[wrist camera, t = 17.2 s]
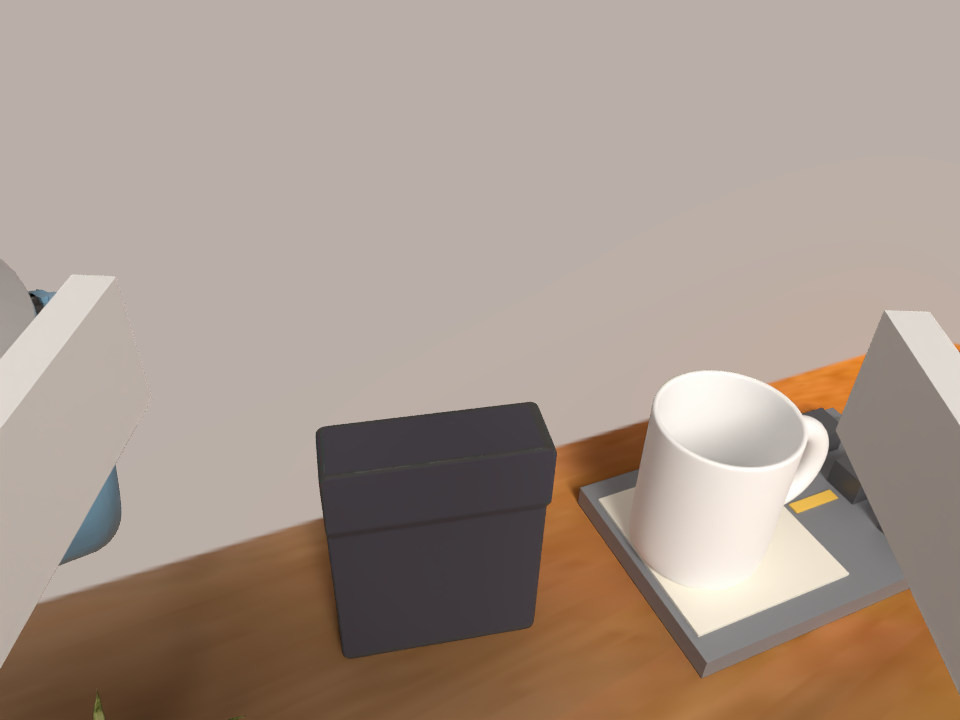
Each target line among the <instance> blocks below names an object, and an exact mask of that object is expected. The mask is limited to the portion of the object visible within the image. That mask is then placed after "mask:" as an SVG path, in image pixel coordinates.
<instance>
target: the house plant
mask: <svg viewBox="0 0 960 720" xmlns="http://www.w3.org/2000/svg"><path fill="white" fill-rule="evenodd" d="M96 691H97V689H96ZM242 717H244V716H241V717H235V718H232V719H229V720H238V719H239V718H242ZM93 720H105V717H104V714H103V710H102V706H101V701H100V697H99V694H98V692H97V697H96V702H95V706H94V710H93Z"/></svg>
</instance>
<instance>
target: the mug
mask: <svg viewBox="0 0 960 720" xmlns="http://www.w3.org/2000/svg"><path fill="white" fill-rule="evenodd" d="M828 448H829V438H828V434H827V431H826V429H825V428H824V426H823V425H822V423H821V422H819V421H818V420H816V419H815V418H813V417H810V416H806V415H802V414H801V412H800V411H799V409H798V408H797V407H796V406H795V404H794V403H793V402H792V401H791V400H790V399H789V398H787V397H786V396H785V395H784V394H782V393H781V392H780V391H778V390H776V389H775V388H773V387H772V386H770V385H768V384H766V383H764V382H762V381H759V380H757V379H755V378H752V377H749V376H746V375H742V374H738V373H733V372H728V371H720V370H700V371H692V372H688V373H684V374H681V375H678V376H676V377H674V378H672V379H670V380H669V381H667V382H666V383H665V384H664V385H663V386H662V387H661V388H660V389H659V390H658V392H657V393H656V395H655V397H654V400H653V405H652V410H651V415H650V420H649V424H648V429H647V434H646V439H645V444H644V449H643V453H642V458H641V463H640V468H639V473H638V478H637V483H636V487H635V492H634V497H633V502H632V507H631V513H630V533H631V537H632V540H633V543H634V545H635V547H636V549H637V551H638V553H639V554H640V556H641V557H642V558H643V559H644V561H645V562H646V563H647V564H648V565H649V566H650V567H651V568H652V569H654V570H655V571H656V572H658V573H659V574H660V575H662V576H664V577H665V578H667V579H669V580H671V581H673V582H675V583H678V584H681V585H683V586H687V587H691V588H695V589H702V590H718V589H725V588H729V587H732V586H735V585H737V584H739V583H741V582H743V581H745V580H746V579H748V578H749V577H750V576H751V575H752V574H753V573H754V572H755V571H756V570H757V568H758V567H759V565H760V564H761V562H762V560H763V558H764V555H765V553H766V551H767V548H768V546H769V543H770V540H771V538H772V535H773V532H774V530H775V527H776V524H777V522H778V519H779V516H780V514H781V511H782V508H783V506H784V504H786V503H788V502H790V501H791V500H793V499H794V498H795V497H797V496H798V495H799V494H801V493H802V492H803V491H804V490H805V489H806V488H807V487H808V486H809V485H810V483H811V482H812V481H813V480H814V478H815V477H816V476H817V474H818V472H819V471H820V469H821V467H822V465H823V463H824V461H825V459H826V456H827V453H828Z"/></svg>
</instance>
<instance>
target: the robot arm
mask: <svg viewBox="0 0 960 720" xmlns="http://www.w3.org/2000/svg"><path fill="white" fill-rule="evenodd" d="M151 400H152V397H151V394H150V391H149V387H148V384H147V380H146V377H145V373H144V370H143V367H142V363H141V360H140V356H139V353H138V350H137V346H136V343H135V339H134V336H133V333H132V329H131V326H130V322H129V319H128V315H127V312H126V308H125V305H124V302H123V298H122V295H121V291H120V288H119V285H118V281H117V278H116V276H91V275H71V276H70V277H69V279H68V280H67V281H66V282H65V283H64V284H63V286H62V287H61V288H60V289H59V290H58V292H46V291H44V290H36V291H29V292H28V291H27V290H26V288H25V286H24V285H23V283H22V282H21V280H20V279H19V277H18V276H17V274H16V273H15V272H14V271H13V270H12V269H11V268H10V267H9V266H8V265H7V264H6V263H5V262H4V261H3V260H2V259H0V668H1V667H2V665H3V663H4V661H5V660H6V658H7V656H8V654H9V652H10V651H11V649H12V647H13V645H14V644H15V642H16V640H17V638H18V636H19V635H20V633H21V631H22V629H23V627H24V626H25V624H26V622H27V620H28V619H29V617H30V615H31V613H32V611H33V610H34V608H35V606H36V604H37V603H38V601H39V599H40V597H41V595H42V594H43V592H44V590H45V588H46V586H47V585H48V583H49V581H50V579H51V578H52V576H53V574H54V572H55V571H56V569H57V567H58V566H59V565H62V564H64V563H67V562H70V561H72V560H75V559H77V558H80V557H83V556H85V555H88V554H90V553H93V552H96V551H98V550H99V549H101V548H102V547H104V546H105V545H106V544H107V543H108V542H110V540H111V539H112V538H113V537H114V535H115V534H116V532H117V530H118V527H119V525H120V521H121V501H120V491H119V484H118V478H117V472H116V465H115V464H116V462H117V460H118V459H119V457H120V455H121V453H122V451H123V449H124V448H125V446H126V444H127V442H128V441H129V439H130V437H131V435H132V434H133V432H134V430H135V428H136V426H137V425H138V423H139V421H140V419H141V418H142V416H143V414H144V412H145V410H146V409H147V407H148V405H149V403H150V402H151ZM836 432H837V434H838V436H839V439H840V441H841V443H842V445H843V447H844V449H845V451H846V453H847V456H848V458H849V460H850V462H851V464H852V466H853V468H854V471H855V473H856V475H857V477H858V479H859V481H860V483H861V485H862V488H863V490H864V492H865V494H866V496H867V498H868V500H869V503H870V505H871V507H872V509H873V511H874V513H875V515H876V518H877V520H878V522H879V524H880V526H881V528H882V530H883V532H884V535H885V537H886V539H887V541H888V543H889V545H890V547H891V550H892V552H893V554H894V556H895V558H896V560H897V562H898V564H899V567H900V569H901V571H902V573H903V575H904V577H905V579H906V582H907V584H908V586H909V588H910V590H911V592H912V594H913V597H914V599H915V601H916V603H917V605H918V607H919V609H920V611H921V614H922V616H923V618H924V620H925V622H926V624H927V626H928V629H929V631H930V633H931V635H932V637H933V639H934V641H935V644H936V646H937V648H938V650H939V652H940V654H941V656H942V658H943V661H944V663H945V665H946V667H947V669H948V671H949V673H950V676H951V678H952V680H953V682H954V684H955V686H956V688H957V690H958V693H959V695H960V353H959V351H958V350H957V349H956V347H955V346H954V344H953V343H952V342H951V340H950V339H949V338H948V336H947V335H946V334H945V332H944V331H943V329H942V328H941V327H940V325H939V324H938V323H937V321H936V320H935V319H934V317H933V316H932V315H931V313H930V312H915V311H892V310H884V312H883V315H882V317H881V320H880V322H879V325H878V327H877V329H876V332H875V334H874V337H873V339H872V342H871V344H870V347H869V349H868V352H867V354H866V356H865V359H864V361H863V364H862V366H861V369H860V371H859V374H858V376H857V379H856V381H855V384H854V386H853V388H852V391H851V393H850V396H849V398H848V401H847V403H846V406H845V408H844V411H843V413H842V416H841V418H840V420H839V423H838V425H837V428H836Z"/></svg>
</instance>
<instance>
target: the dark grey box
mask: <svg viewBox="0 0 960 720" xmlns="http://www.w3.org/2000/svg"><path fill="white" fill-rule="evenodd" d="M316 449H317V463H318V477H319V487H320V496H321V503H322V510H323V517H324V524H325V531H326V536H327V542H328V549H329V556H330V564H331V571H332V578H333V585H334V593H335V600H336V607H337V614H338V622H339V629H340V636H341V643H342V651H343V655H344V656H345V657H346V658H357V657H363V656H369V655H375V654H380V653H386V652H392V651H398V650H404V649H409V648H415V647H421V646H427V645H433V644H438V643H444V642H450V641H456V640H462V639H467V638H473V637H479V636H485V635H491V634H496V633H502V632H508V631H514V630H520V629H525V628H528V627H530V626H531V625H532V624H533V622H534V614H535V605H536V596H537V587H538V578H539V569H540V560H541V551H542V542H543V533H544V524H545V515H546V507H547V505H548V504H549V503H551V499H552V491H553V483H554V474H555V466H556V457H557V452H556V449H555V446H554V444H553V442H552V439H551V437H550V435H549V432H548V429H547V427H546V424H545V422H544V420H543V417H542V414H541V412H540V410H539V408H538V406H537V404H536V403H533V402H525V403H517V404H509V405H500V406H492V407H484V408H475V409H466V410H459V411H450V412H441V413H433V414H425V415H417V416H408V417H399V418H391V419H383V420H374V421H366V422H358V423H349V424H341V425H333V426H326V427H321V428H320V429H318V430H317V432H316Z"/></svg>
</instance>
